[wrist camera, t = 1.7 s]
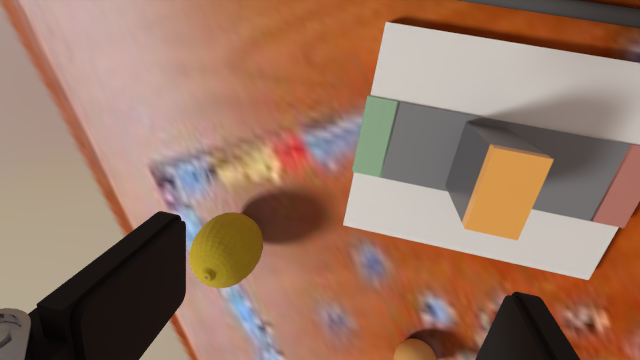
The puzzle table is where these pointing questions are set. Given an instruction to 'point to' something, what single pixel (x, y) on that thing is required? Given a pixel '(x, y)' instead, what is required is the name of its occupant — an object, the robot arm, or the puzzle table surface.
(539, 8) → the cords
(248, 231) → the lemon
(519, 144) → the toggle
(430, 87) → the panel
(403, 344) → the figurine
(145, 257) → the robot arm
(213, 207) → the puzzle table surface
